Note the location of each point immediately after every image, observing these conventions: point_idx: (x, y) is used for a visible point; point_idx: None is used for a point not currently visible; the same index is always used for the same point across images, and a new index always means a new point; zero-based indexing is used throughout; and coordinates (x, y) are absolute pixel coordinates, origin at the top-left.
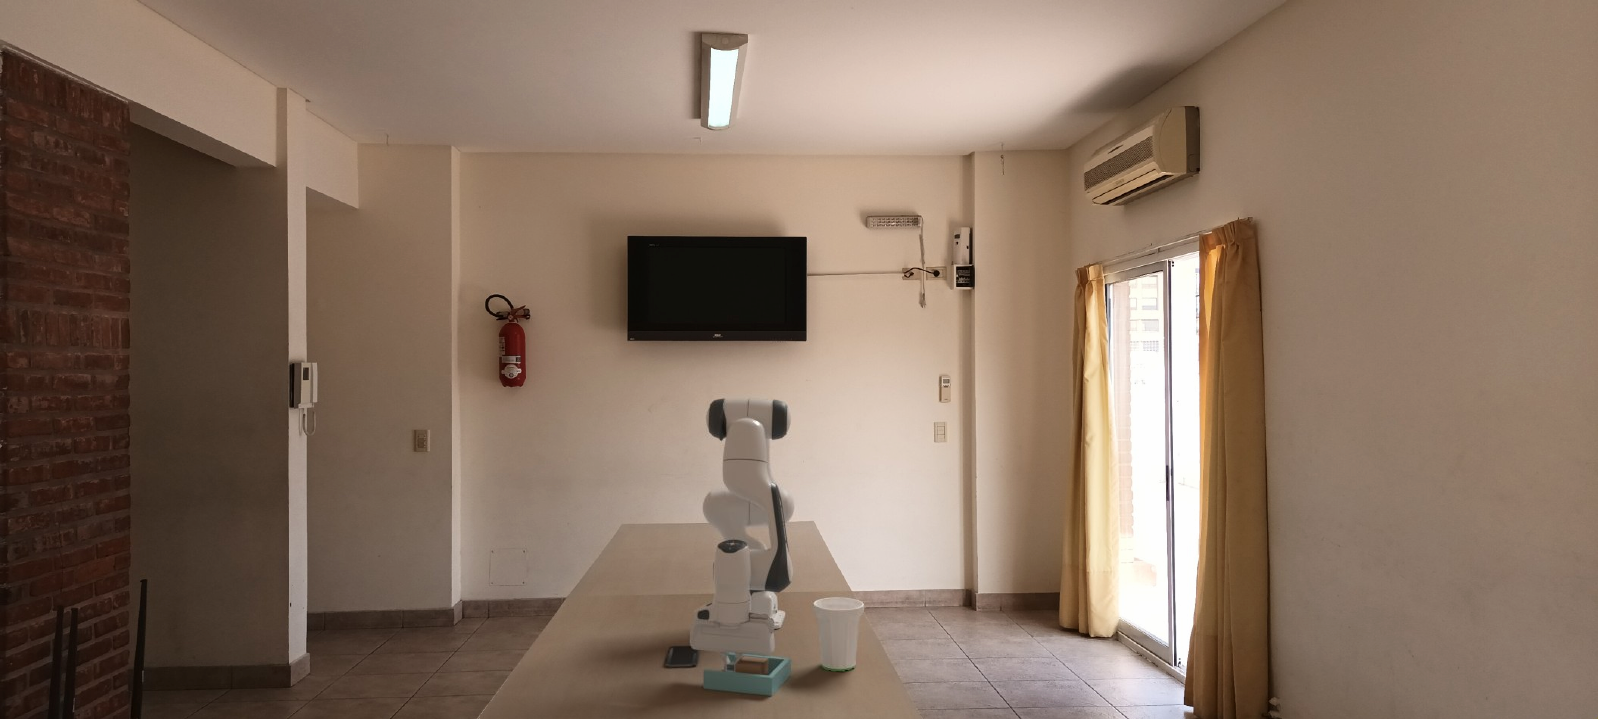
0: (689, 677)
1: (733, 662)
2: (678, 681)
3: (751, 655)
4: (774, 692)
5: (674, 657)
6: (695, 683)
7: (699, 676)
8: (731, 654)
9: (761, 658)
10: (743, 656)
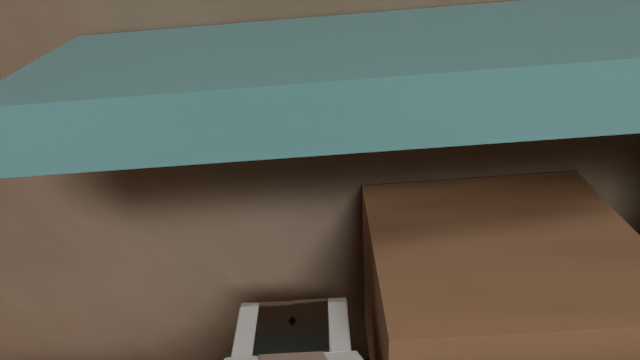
0: (5, 297)
1: (297, 358)
2: (13, 355)
3: (412, 118)
4: None
5: None
6: (123, 351)
7: (44, 266)
8: (103, 168)
9: (626, 341)
10: (294, 150)
